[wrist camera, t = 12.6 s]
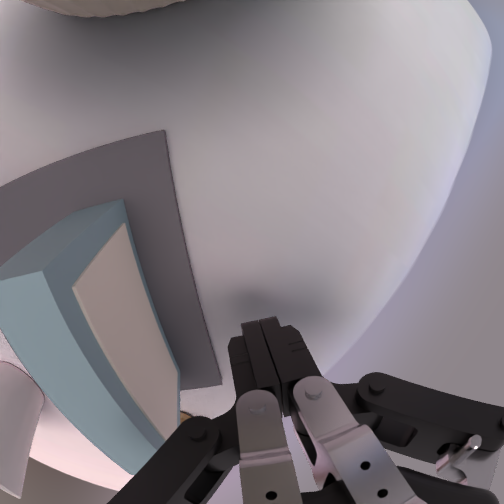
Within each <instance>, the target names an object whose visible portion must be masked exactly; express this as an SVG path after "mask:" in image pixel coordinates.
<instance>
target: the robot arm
mask: <svg viewBox="0 0 504 504" xmlns="http://www.w3.org/2000/svg"><path fill="white" fill-rule="evenodd" d="M241 327H242V333H243V336H238V337H233V338H231V340H230V342H229V345H228V352H229V358H230V364H231V369H232V375H233V380H234V385H235V391H236V401H235V404H234V405H233V407H232V408H231V409H230V410H229V411H228V412H226V413H225V414H223V415H221V416H219V417H216V418H214V419H212V420H211V419H210V418H207V417H203V416H195V417H191V418H188V419H186V420H185V421H183V422H182V423H181V424H180V425H179V426H178V428H177V429H176V430H175V431H174V432H173V433H172V435H171V436H170V437H169V438H168V439H167V440H166V441H165V443H164V444H163V445H162V446H161V447H160V448H159V449H158V450H157V452H156V453H155V454H154V455H153V456H152V457H151V458H150V459H149V460H148V461H147V463H146V464H145V465H144V466H143V467H142V468H141V469H140V470H139V471H138V472H137V473H136V474H135V475H134V477H133V478H132V479H131V480H130V481H129V482H128V483H127V484H126V485H125V486H124V487H123V488H122V489H121V490H120V491H119V492H118V493H117V494H116V495H115V496H114V497H113V498H112V499H111V500H110V501H109V502H108V503H107V504H206V503H207V502H208V501H209V499H210V498H211V497H212V495H213V494H214V493H215V491H216V490H217V489H218V487H219V486H220V485H221V483H222V482H223V480H224V479H225V478H226V476H227V475H228V473H229V472H230V470H231V469H232V467H233V466H235V465H237V464H239V468H240V478H241V487H242V495H243V504H499V501H498V499H497V497H496V496H495V495H494V494H493V493H492V492H491V491H489V489H490V486H491V483H492V480H493V476H494V473H495V469H496V466H497V462H498V457H499V453H500V449H501V447H502V446H503V445H504V407H500V406H495V405H491V404H486V403H482V402H478V401H474V400H470V399H466V398H462V397H459V396H455V395H451V394H448V393H444V392H440V391H437V390H434V389H430V388H427V387H424V386H421V385H417V384H414V383H411V382H408V381H405V380H402V379H399V378H396V377H393V376H390V375H387V374H384V373H379V372H374V373H370V374H367V375H365V376H364V377H362V378H361V379H360V381H359V383H353V384H335V383H332V382H330V381H328V380H327V379H325V378H324V377H323V376H322V375H321V373H320V371H319V369H318V368H317V366H316V364H315V362H314V360H313V358H312V356H311V354H310V352H309V350H308V349H307V346H306V344H305V342H304V341H303V338H302V336H301V334H300V332H299V331H298V330H296V329H295V328H294V327H292V326H291V325H288V326H284V327H281V326H280V324H279V322H278V319H277V317H276V316H275V317H270V318H265V319H261V320H259V322H258V320H256V321H251V322H246V323H241ZM282 412H283V415H284V417H287V416H291V418H292V421H293V424H294V433H295V435H296V437H297V439H298V441H299V444H300V445H301V448H302V450H303V452H304V454H305V456H306V458H307V460H308V462H309V465H310V467H311V469H312V473H313V477H314V480H315V482H316V485H317V487H318V489H319V491H316V492H304V493H300V490H299V486H298V481H297V477H296V472H295V468H294V464H293V460H292V456H291V453H290V451H289V448H288V444H287V440H286V435H285V431H284V427H283V422H282V418H283V417H282ZM384 448H385V449H388V450H391V451H394V452H397V453H400V454H403V455H406V456H409V457H412V458H415V459H419V460H422V461H425V462H429V463H433V464H436V473H437V475H438V476H440V477H443V478H445V479H447V480H448V481H447V480H443V479H440V478H436V477H433V476H430V475H426V474H423V473H420V472H417V471H414V470H411V469H409V468H405V467H400V466H396V465H395V464H394V462H393V461H392V459H391V458H390V456H389V455H388V453H387V452H386V450H385V449H384Z"/></svg>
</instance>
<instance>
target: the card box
mask: <svg viewBox="0 0 504 504" xmlns="http://www.w3.org/2000/svg"><path fill="white" fill-rule="evenodd" d="M0 328H1V330H2V332H3V334H4V335H5V337H6V339H7V340H8V342H9V344H10V345H11V347H12V348H13V350H14V351H15V353H16V355H17V356H18V358H19V359H20V361H21V362H22V363H23V365H24V366H25V368H26V369H27V371H28V372H29V373H30V375H31V376H32V377H33V379H34V380H35V381H36V383H37V384H38V385H39V386H40V388H41V389H42V390H43V392H44V393H45V394H46V395H47V396H48V398H49V399H50V400H51V401H52V402H53V403H54V405H55V406H56V407H57V408H58V409H59V410H60V411H61V412H62V414H63V415H64V416H65V417H66V418H67V419H68V420H69V421H70V422H71V423H72V424H73V425H74V426H75V427H76V428H77V429H78V430H79V431H80V432H81V433H82V434H83V435H84V436H85V437H86V438H87V439H88V440H89V441H90V442H92V443H93V444H94V445H95V446H96V447H97V448H98V449H99V450H101V451H102V452H103V453H104V454H105V455H106V456H108V457H109V458H110V459H111V460H112V461H114V462H115V463H116V464H117V465H119V466H120V467H121V468H123V469H124V470H125V471H127V472H128V473H129V474H131V475H135V474H136V473H137V472H138V471H139V470H140V469H141V468H142V467H143V466H144V465H145V464H146V463H147V461H148V460H149V459H150V458H151V457H152V456H153V455H154V454H155V453H156V452H157V450H158V449H159V448H160V447H161V446H162V445H163V444H164V443H165V441H166V440H167V439H168V438H169V437H170V436H171V435H172V433H173V432H174V431H175V430H176V429H177V428H178V426H179V425H180V370H179V367H178V365H177V363H176V361H175V358H174V356H173V353H172V351H171V349H170V346H169V344H168V341H167V339H166V336H165V334H164V331H163V328H162V326H161V323H160V321H159V318H158V315H157V312H156V310H155V307H154V304H153V301H152V298H151V295H150V292H149V289H148V286H147V283H146V280H145V277H144V274H143V271H142V268H141V264H140V261H139V258H138V254H137V251H136V247H135V244H134V240H133V236H132V233H131V229H130V225H129V221H128V217H127V213H126V209H125V204H124V200H123V199H119V200H115V201H111V202H107V203H104V204H100V205H96V206H92V207H89V208H85V209H82V210H78V211H75V212H73V213H71V214H70V215H68V216H67V217H65V218H64V219H62V220H61V221H59V222H58V223H56V224H55V225H54V226H52V227H51V228H49V229H48V230H47V231H45V232H44V233H42V234H41V235H40V236H38V237H37V238H36V239H34V240H33V241H32V242H30V243H29V244H28V245H26V246H25V247H24V248H23V249H21V250H20V251H19V252H18V253H16V254H15V255H14V256H13V257H11V258H10V259H9V260H8V261H7V262H5V263H4V264H3V265H2V266H1V267H0Z"/></svg>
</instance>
